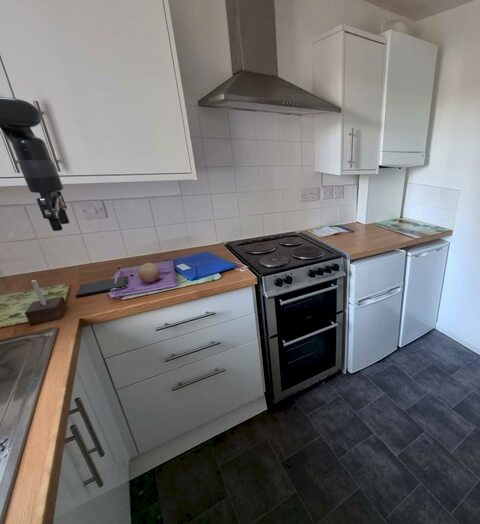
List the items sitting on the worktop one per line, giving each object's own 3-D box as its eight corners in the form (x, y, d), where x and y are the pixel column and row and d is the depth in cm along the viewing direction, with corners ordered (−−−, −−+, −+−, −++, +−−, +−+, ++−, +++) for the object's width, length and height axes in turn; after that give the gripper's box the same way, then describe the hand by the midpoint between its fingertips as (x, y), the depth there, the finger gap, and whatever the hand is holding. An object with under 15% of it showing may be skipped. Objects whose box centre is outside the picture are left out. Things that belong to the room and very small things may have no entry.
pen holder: (30, 325, 100) (24, 312, 98) (38, 313, 106) (32, 301, 104) (62, 318, 103) (56, 306, 101) (68, 308, 110) (62, 296, 108)
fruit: (136, 283, 128) (131, 266, 125) (155, 275, 134) (150, 259, 131) (148, 287, 124) (142, 269, 121) (166, 279, 131) (161, 262, 128)
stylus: (47, 317, 104) (30, 281, 98) (48, 316, 105) (31, 280, 99) (52, 316, 104) (35, 281, 99) (53, 315, 105) (36, 279, 100)
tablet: (76, 298, 116) (75, 295, 116) (82, 286, 125) (81, 284, 124) (126, 288, 123) (125, 285, 123) (128, 278, 132) (127, 275, 132)
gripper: (32, 173, 94) (53, 223, 100) (14, 178, 82) (38, 234, 89) (63, 171, 97) (81, 220, 103) (50, 176, 86) (71, 231, 92)
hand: (61, 226), depth 96 cm, fingers open, 8 cm apart
